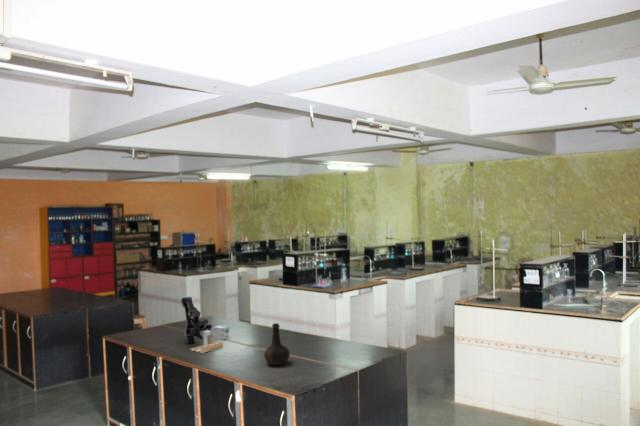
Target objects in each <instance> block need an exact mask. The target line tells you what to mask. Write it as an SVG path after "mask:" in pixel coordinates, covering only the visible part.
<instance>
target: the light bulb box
mask: <svg viewBox="0 0 640 426" xmlns="http://www.w3.org/2000/svg"><path fill="white" fill-rule="evenodd" d="M214 338H219V339H226V340H228V339H227V338H229V339H230V326H229V325H217V326H215V327H214Z"/></svg>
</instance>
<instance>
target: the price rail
mask: <svg viewBox="0 0 640 426" xmlns="http://www.w3.org/2000/svg"><path fill="white" fill-rule="evenodd" d="M220 346H223V347H224V342H223V341H220V342H217V343H213V344H212V345H208V346H205V347H201V352H202V351H206V350H209V349H213V348H217V347H220Z"/></svg>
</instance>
